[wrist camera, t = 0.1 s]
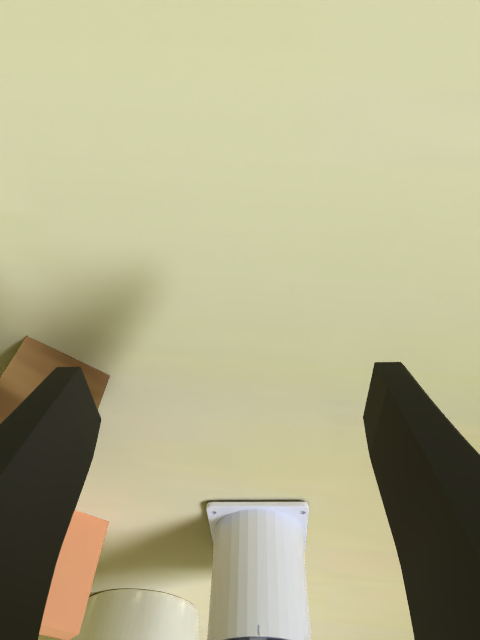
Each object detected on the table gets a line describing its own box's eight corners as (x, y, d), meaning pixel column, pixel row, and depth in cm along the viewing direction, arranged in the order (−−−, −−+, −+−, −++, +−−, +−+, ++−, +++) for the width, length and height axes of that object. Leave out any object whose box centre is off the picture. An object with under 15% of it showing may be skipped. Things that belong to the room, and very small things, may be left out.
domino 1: (95, 393, 26) (45, 524, 20) (14, 356, 24) (-68, 487, 18) (109, 375, 25) (62, 507, 19) (26, 336, 23) (-56, 466, 17)
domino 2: (98, 530, 38) (67, 640, 31) (43, 512, 36) (-1, 625, 30) (108, 522, 37) (79, 634, 30) (52, 502, 35) (8, 618, 28)
